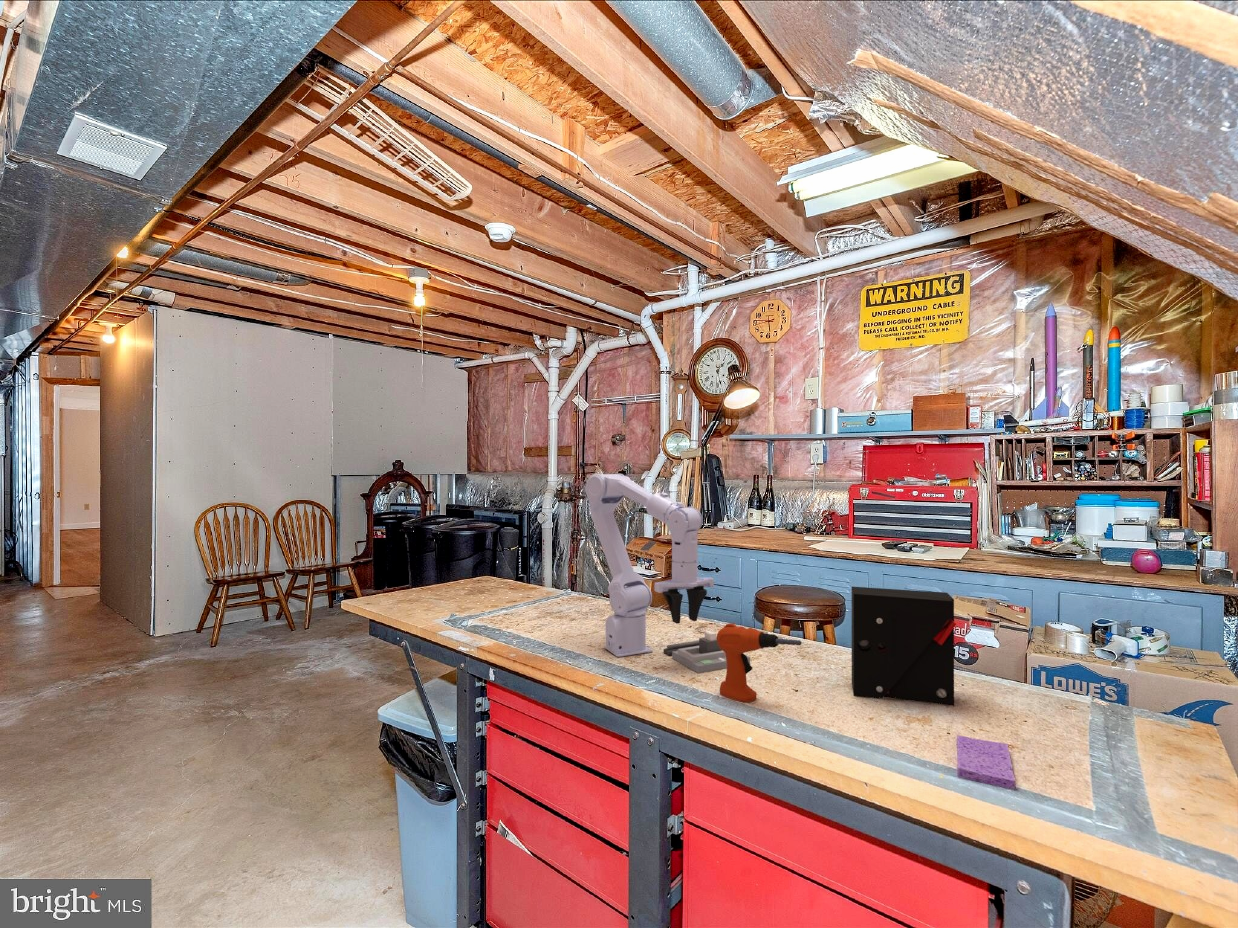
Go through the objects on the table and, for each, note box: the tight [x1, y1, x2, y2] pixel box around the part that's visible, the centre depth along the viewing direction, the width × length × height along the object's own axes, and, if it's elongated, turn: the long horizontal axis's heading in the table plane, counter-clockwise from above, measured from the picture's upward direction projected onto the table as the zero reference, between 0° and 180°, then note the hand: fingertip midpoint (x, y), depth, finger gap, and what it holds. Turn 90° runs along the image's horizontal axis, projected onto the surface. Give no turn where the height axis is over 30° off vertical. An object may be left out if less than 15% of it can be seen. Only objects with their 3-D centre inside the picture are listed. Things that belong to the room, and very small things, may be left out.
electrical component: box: [851, 586, 957, 707], centre depth 114 cm, size 18×10×20 cm, turn 71°
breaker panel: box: [671, 646, 751, 674], centre depth 133 cm, size 14×11×3 cm
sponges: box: [956, 734, 1016, 790], centre depth 87 cm, size 7×13×2 cm, turn 150°
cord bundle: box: [663, 639, 699, 656], centre depth 140 cm, size 14×3×2 cm, turn 116°
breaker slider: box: [698, 630, 722, 654], centre depth 133 cm, size 4×3×5 cm
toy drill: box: [716, 622, 803, 703], centre depth 110 cm, size 5×18×14 cm, turn 50°
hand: (684, 621), depth 130 cm, fingers open, 4 cm apart
